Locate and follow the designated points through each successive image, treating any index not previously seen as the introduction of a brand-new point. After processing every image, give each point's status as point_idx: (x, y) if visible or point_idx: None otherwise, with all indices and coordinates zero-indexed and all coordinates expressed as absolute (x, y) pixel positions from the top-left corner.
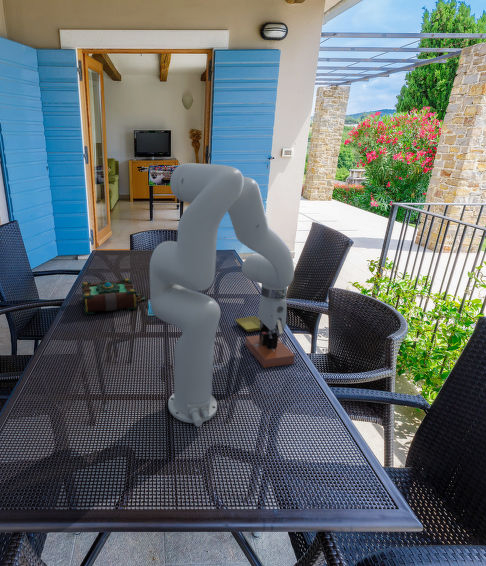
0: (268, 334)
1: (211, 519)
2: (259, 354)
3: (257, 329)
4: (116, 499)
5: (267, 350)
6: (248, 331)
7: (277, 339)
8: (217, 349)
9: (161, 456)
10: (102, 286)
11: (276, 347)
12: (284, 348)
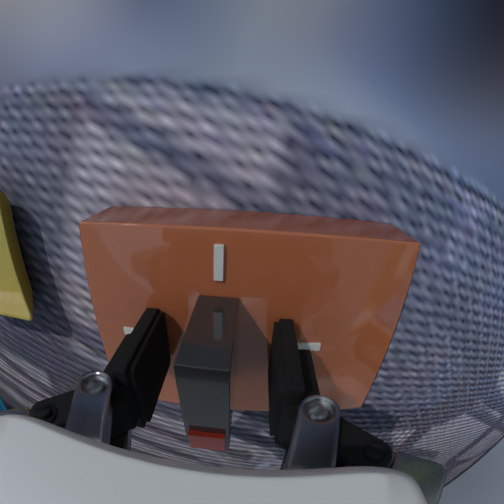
0: (229, 425)
1: (487, 452)
2: None
3: (15, 243)
4: None
5: None
6: (31, 293)
7: (301, 371)
8: (167, 438)
9: None
10: None
11: (291, 320)
12: (318, 263)
